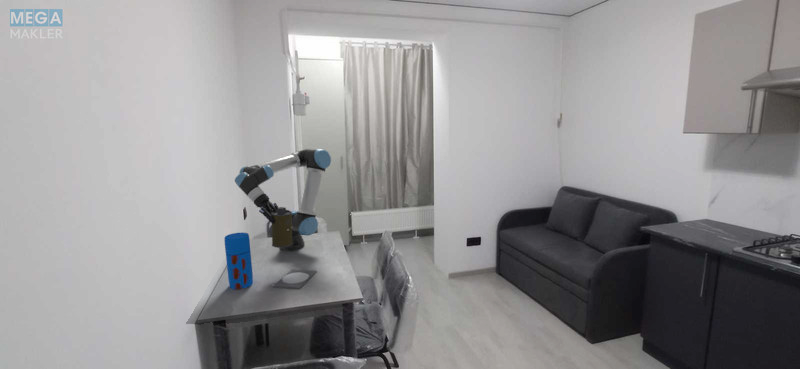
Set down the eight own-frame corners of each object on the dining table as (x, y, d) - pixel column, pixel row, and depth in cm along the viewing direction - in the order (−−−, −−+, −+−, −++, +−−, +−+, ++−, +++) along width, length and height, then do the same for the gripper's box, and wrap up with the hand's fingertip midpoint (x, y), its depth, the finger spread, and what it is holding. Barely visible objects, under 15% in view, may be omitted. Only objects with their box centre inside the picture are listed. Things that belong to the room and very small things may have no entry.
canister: (285, 248, 180) (285, 210, 177) (267, 246, 182) (266, 209, 179) (296, 242, 191) (296, 206, 188) (279, 240, 193) (278, 204, 190)
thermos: (236, 279, 179) (231, 232, 175) (256, 279, 178) (252, 232, 174) (225, 289, 168) (219, 239, 164) (247, 289, 168) (242, 239, 163)
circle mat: (292, 270, 189) (291, 269, 188) (316, 272, 186) (316, 270, 186) (272, 287, 169) (272, 285, 169) (300, 289, 167) (299, 287, 167)
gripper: (263, 199, 194) (292, 230, 193) (244, 205, 178) (276, 239, 177) (271, 190, 192) (300, 221, 191) (253, 195, 176) (285, 230, 176)
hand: (288, 230), depth 184 cm, fingers open, 3 cm apart
